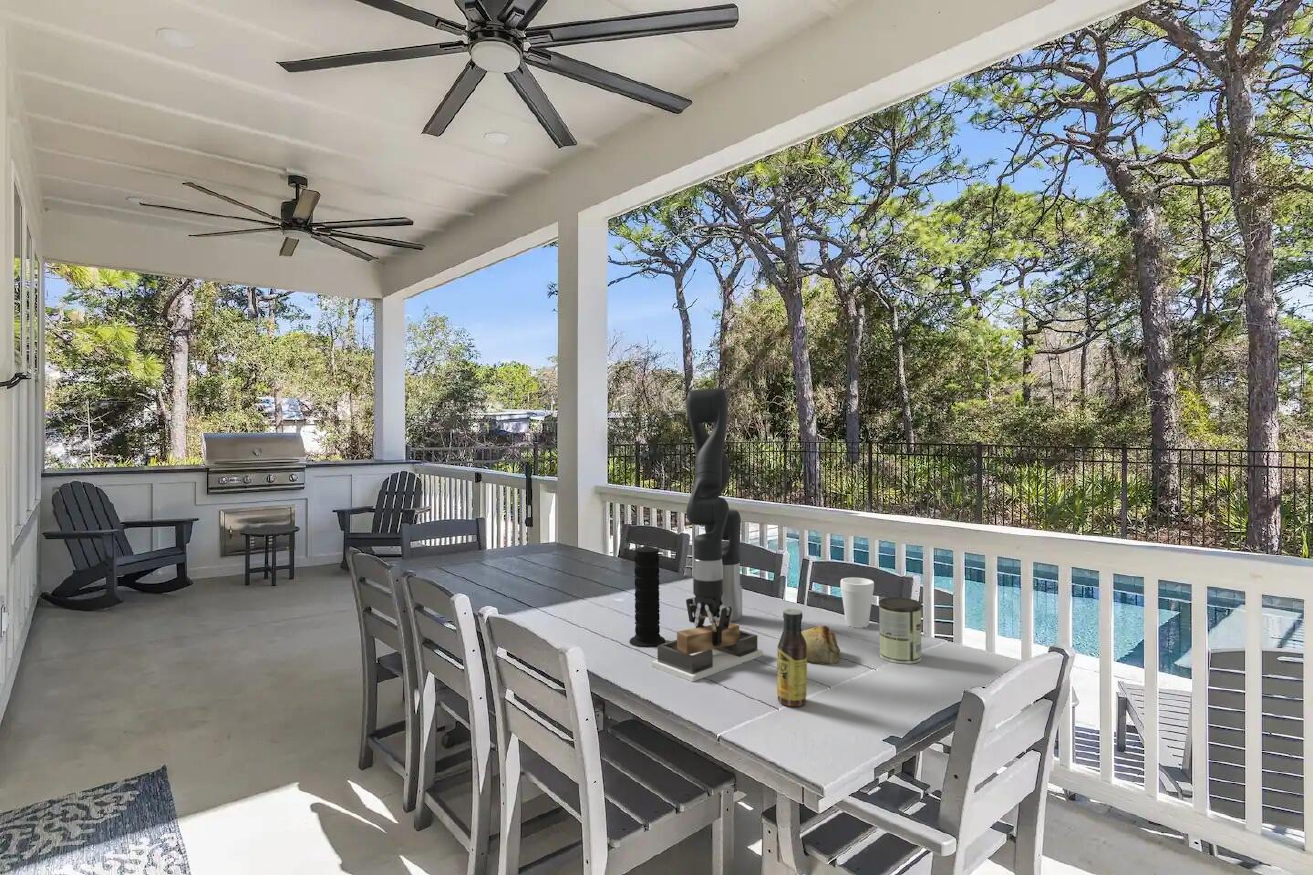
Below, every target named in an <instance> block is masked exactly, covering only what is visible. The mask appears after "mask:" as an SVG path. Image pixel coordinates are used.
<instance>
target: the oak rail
mask: <svg viewBox="0 0 1313 875" xmlns="http://www.w3.org/2000/svg"><path fill="white" fill-rule="evenodd" d="M717 626H718V625H717ZM739 630H740V625H739V624H735V623H733V622H729V627H728V629H726V630H723V631H722V643H721V644H720V646H717V647H715V646H713V628H712V624H709V625H704V626H703V627H699V628H696V627H695V628H689V629H684V630H680V631H676V640H677V650H679V651H681V652H684V653H687V654H693V653H698V652H702V651H707V650H711V649H716V648H720V647H725V646H729V645H734V644H737V640H739Z"/></svg>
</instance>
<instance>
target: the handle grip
mask: <svg viewBox="0 0 1313 875" xmlns="http://www.w3.org/2000/svg"><path fill="white" fill-rule="evenodd" d="M633 550H634V559H633V560H634V578H635V579H634V597H635V598H634V601H635V602H634V609H635V610H634V621H635V622H634V625H635V628H634V632H635V633H634V634H635V635H634V636H632V637H631V638H630V639H629V644H630V645H632V646H634V647H638V648H656V647H657V645H661V644H664V643H667V642H666V639H665V637H663V636H661V634H660V632H661V631H660V623H661V622H660V619H661V617H660V613H661V610H660V607H661V606H660V567H659V566H660V555H659V553H660V548H658V547H654V546H649V545H644V546H640V547H636V548H634V549H633Z"/></svg>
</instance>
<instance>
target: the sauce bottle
mask: <svg viewBox="0 0 1313 875" xmlns="http://www.w3.org/2000/svg"><path fill="white" fill-rule="evenodd" d="M782 618H783V630H782V633H781V636H780V639H779V641H778V644H777V660H776V661H777V662H776V663H777V664H776V666H777V667H776V669H777V670H776V672H777V675H776V677H777V678H776V680H777V682H776V683H777V684H776V685H777V686H776V690H777V691H776V694H777V701H778V702H779V703H780V704H782V705H784V707H785V706H786V707H793V708H794V707H801V706H803V705H804V706H805V704H806V700H807V693H808V692H807V690H808V689H807V686H808V676H807V674H808V661H807V644H806V641H805V639H804V637H803V635H802V633H801V632H802V631H803V630H802V620H803V611H802V610H799V609H796V608H788V609H784V610H783V613H782Z"/></svg>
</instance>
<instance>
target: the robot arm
mask: <svg viewBox="0 0 1313 875" xmlns="http://www.w3.org/2000/svg"><path fill="white" fill-rule="evenodd" d="M686 411H687V415H688V421H689V425H690V429H691V434H692V438H693V443H694V450H695V452H694V453H695V462H694V479H693V480H694V482H693V488H692V491H691V494H690V497H689V500H688V503H687V506H686V511H685V512H686V514H685V515H686V519H687V520H688V522H689V523H690V524H691V525H694V526H704V531H705V532H704V533H701V534H697V535H696V536H695V537H694V539H693V565H692V570H693V571H692V577H693V578H692V579H693V580H692V582H693V583H692V584H693V585H692V586H693V587H692V589H693V591H692V592H693V593H692V594H693V595H694V597H690V598H686V600H685V603H686V609H687V615H688V621H689V623H692V624H694V626H695V628H699V627H703V626H705V625H704V624H705V620H706V618H708V621H709V623H710V625H712V628H713V646H715V647H717V646H720V644H721V643H722V631H723V630H726V629H728V627H729V622H731V623H733V622H737V621H740V620H741V618H742V617H743V587H742V585H741V529H742V528H741V527H742V523H741V522H742V519H741V518H742V517H741V514H740V512H739V511H738V510H734V509H730V507H729V504H728V503H729V502H728V501H727V500H726V499H725V498H724V497H721V495H722V493H723V492H724V491H725V489H726V487H727V485H728V484H729V481H730V478H731V472H730V471H731V469H730V463H729V457H728V455H727V453H726V451H725V450H724V446H725V445H724V444H725V439H726V432H727V424H728V416H729V415H728V414H729V401H728V395H727V393H726V391H725V389H723V388H701V389H694V390H690V391H688V393H687V395H686ZM707 423H708V424H710V423H714V425H713V429H712V431H711V433H710V434H709V432H708V431H707V429H706V426H705V424H707ZM723 541H728V544H727V545H726V546H724V547H723ZM717 625H718V626H717Z"/></svg>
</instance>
